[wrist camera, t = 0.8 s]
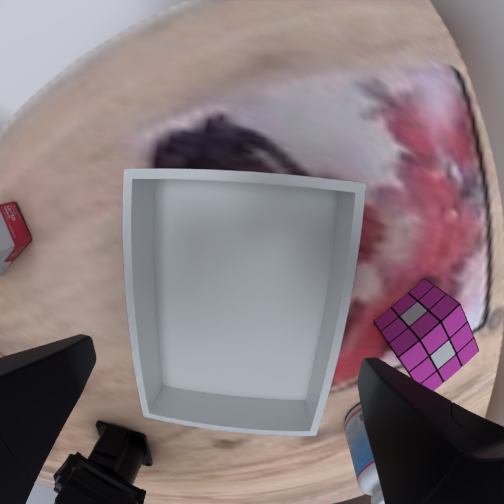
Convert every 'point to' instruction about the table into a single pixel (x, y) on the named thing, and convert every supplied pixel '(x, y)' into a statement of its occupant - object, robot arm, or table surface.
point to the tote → (238, 294)
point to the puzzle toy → (428, 334)
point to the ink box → (11, 234)
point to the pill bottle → (362, 456)
